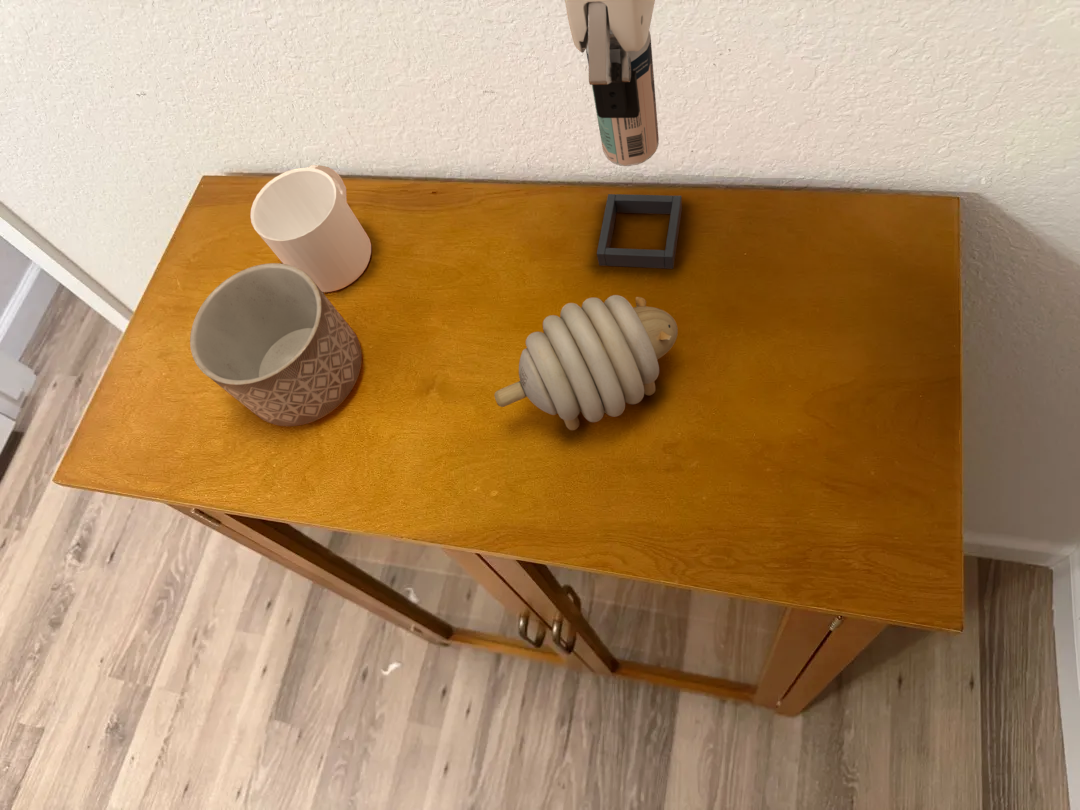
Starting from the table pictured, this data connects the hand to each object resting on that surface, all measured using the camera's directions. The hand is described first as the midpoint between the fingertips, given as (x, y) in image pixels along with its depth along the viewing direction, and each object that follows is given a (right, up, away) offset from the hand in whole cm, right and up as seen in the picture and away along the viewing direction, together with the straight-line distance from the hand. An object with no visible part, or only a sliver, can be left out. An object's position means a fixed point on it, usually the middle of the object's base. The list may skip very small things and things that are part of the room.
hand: (624, 86), depth 60 cm
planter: (-30, -22, +18) cm, 42 cm away
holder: (+4, -8, +17) cm, 19 cm away
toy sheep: (-1, -24, +11) cm, 26 cm away
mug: (-29, -8, +25) cm, 39 cm away
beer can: (+1, -3, +6) cm, 7 cm away
